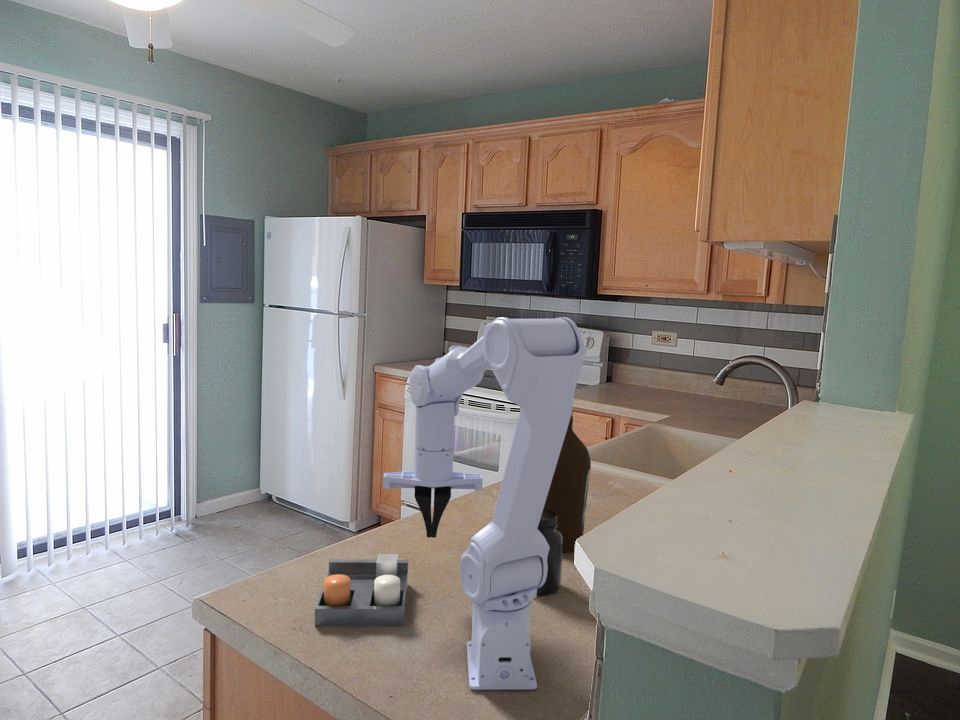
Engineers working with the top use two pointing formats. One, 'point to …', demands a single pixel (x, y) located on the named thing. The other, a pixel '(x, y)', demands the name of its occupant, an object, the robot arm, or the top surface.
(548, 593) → the supplement bottle
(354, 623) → the panel
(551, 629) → the top surface
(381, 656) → the top surface
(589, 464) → the olive oil
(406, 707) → the top surface
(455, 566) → the top surface
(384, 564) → the slider knob
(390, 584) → the ivory button
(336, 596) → the orange button
